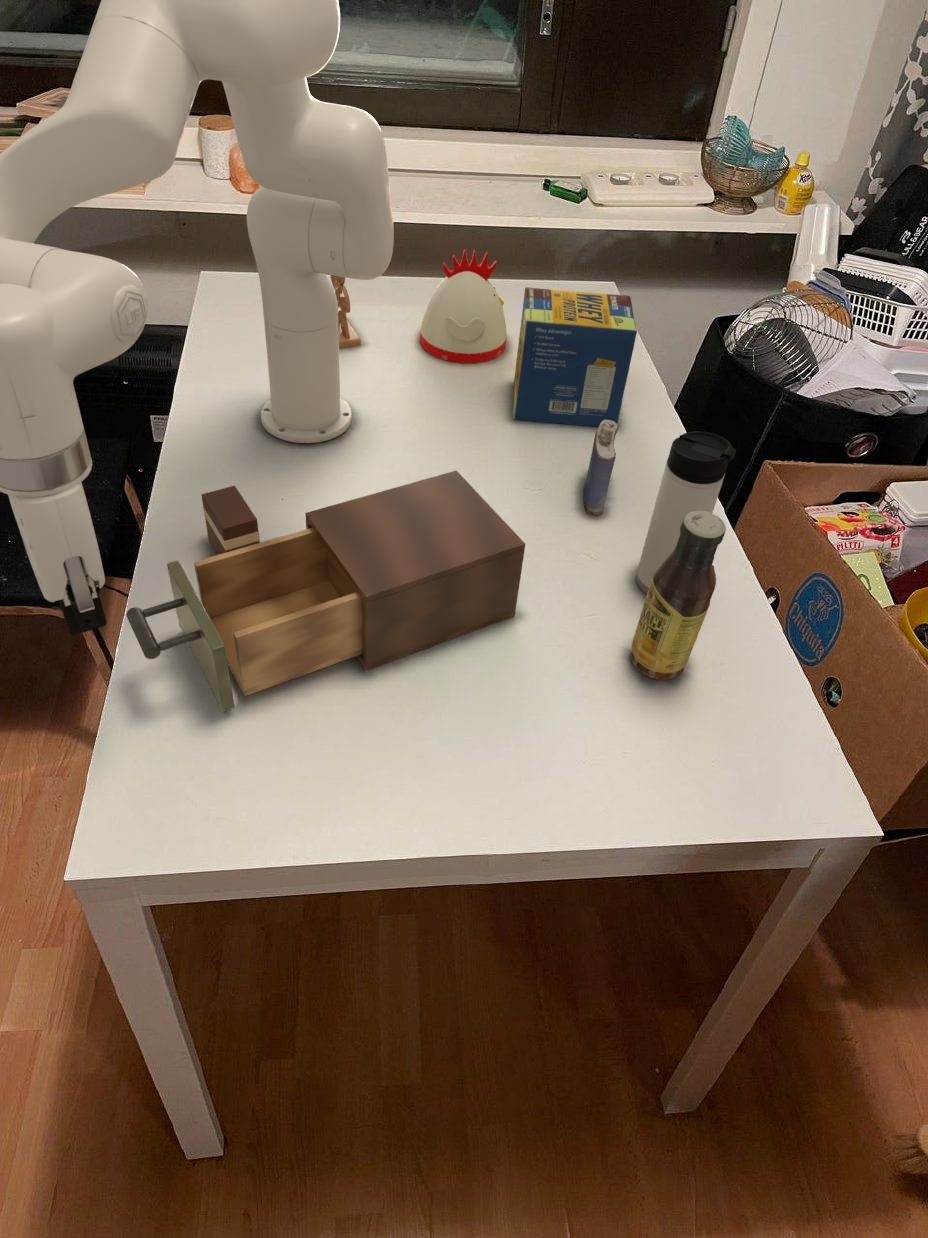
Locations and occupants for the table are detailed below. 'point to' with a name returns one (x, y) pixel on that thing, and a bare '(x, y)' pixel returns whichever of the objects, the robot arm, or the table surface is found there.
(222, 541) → the snack box
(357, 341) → the wooden sculpture
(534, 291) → the protein box
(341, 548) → the cabinet
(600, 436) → the flask
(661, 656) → the sauce bottle
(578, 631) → the table surface
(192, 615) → the drawer
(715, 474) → the travel mug
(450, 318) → the kitchen timer
